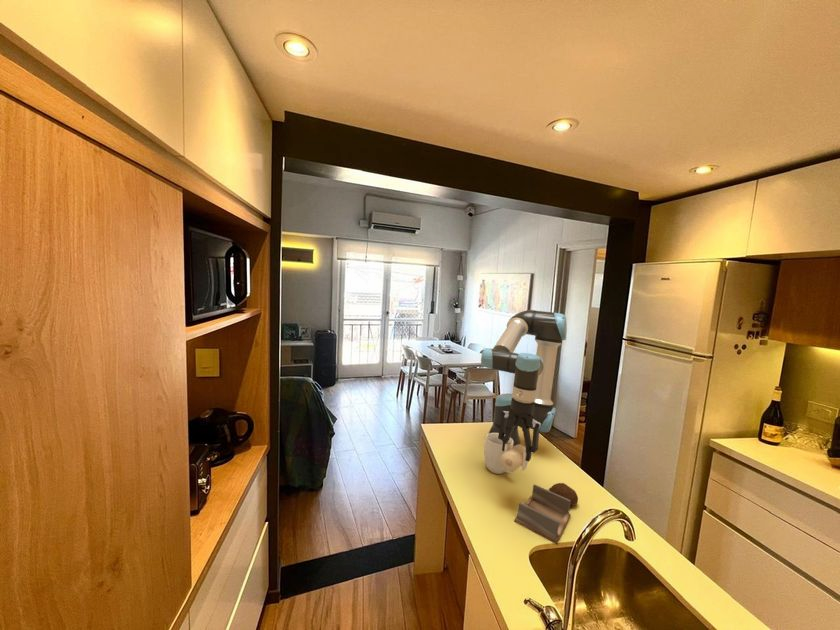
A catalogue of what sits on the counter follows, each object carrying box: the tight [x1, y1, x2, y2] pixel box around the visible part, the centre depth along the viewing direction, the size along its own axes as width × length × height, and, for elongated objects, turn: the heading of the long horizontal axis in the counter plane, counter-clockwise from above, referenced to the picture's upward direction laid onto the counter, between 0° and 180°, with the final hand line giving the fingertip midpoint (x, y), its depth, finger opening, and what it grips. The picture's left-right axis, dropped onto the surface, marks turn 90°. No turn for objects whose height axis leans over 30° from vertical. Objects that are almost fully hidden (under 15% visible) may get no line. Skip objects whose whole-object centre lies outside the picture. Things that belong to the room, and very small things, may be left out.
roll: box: [501, 444, 526, 473], centre depth 115 cm, size 10×6×6 cm, turn 140°
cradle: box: [514, 483, 572, 544], centre depth 108 cm, size 16×13×6 cm
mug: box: [483, 432, 515, 475], centre depth 134 cm, size 15×11×13 cm
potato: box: [548, 482, 579, 507], centre depth 118 cm, size 7×10×7 cm
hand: (514, 464), depth 115 cm, fingers closed on roll, 6 cm apart
